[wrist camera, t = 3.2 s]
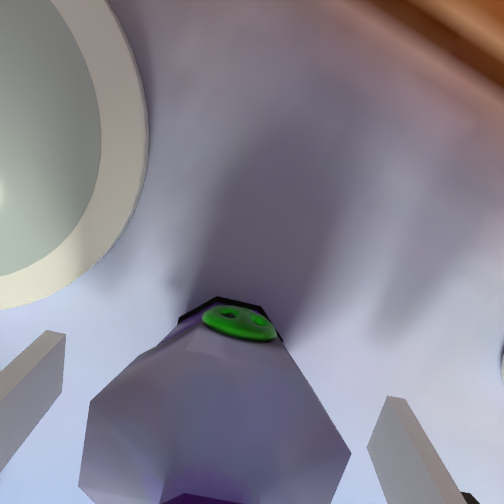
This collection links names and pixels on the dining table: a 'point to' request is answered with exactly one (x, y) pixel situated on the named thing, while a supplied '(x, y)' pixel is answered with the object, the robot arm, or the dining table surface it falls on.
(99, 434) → the potion bottle
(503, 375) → the supplement bottle
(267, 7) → the dining table surface
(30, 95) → the plate
